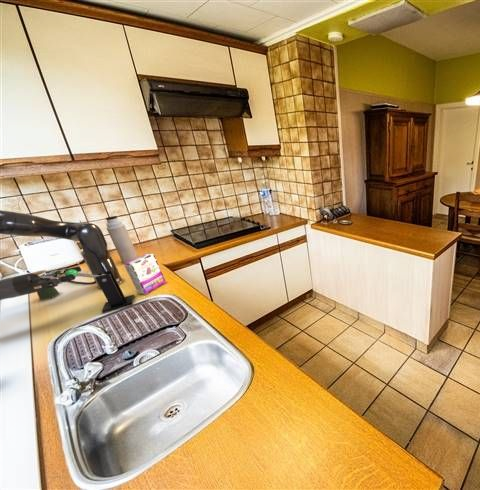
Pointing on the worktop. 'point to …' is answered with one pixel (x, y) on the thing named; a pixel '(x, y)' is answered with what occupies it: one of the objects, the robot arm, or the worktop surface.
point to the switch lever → (80, 274)
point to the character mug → (46, 292)
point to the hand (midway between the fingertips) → (77, 272)
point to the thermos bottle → (121, 239)
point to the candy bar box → (145, 273)
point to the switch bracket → (112, 292)
